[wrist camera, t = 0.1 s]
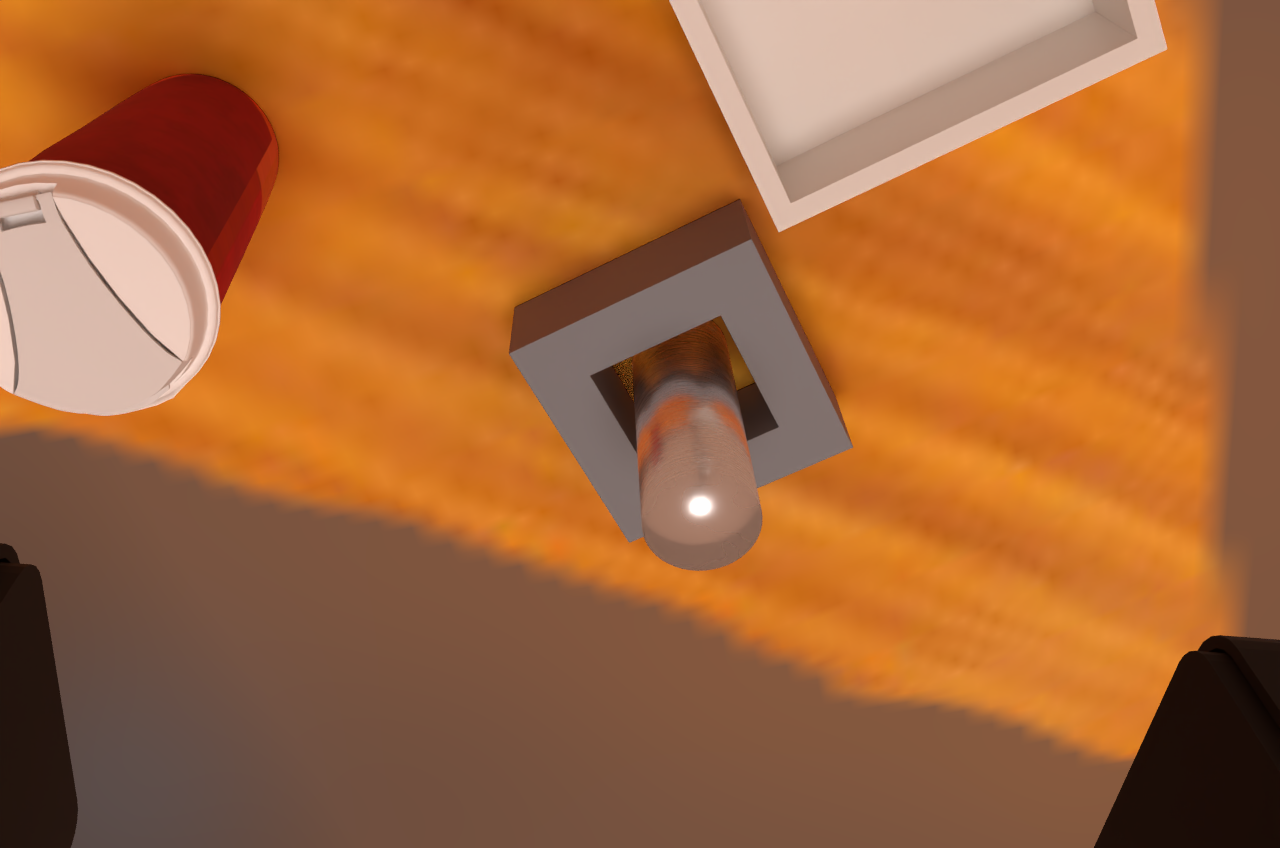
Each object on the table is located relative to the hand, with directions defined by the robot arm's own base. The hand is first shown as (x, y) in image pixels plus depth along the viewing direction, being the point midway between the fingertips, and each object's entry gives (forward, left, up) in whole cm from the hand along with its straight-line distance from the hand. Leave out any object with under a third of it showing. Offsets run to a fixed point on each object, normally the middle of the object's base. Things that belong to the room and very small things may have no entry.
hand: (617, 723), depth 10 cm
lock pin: (+16, -4, -37) cm, 41 cm away
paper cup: (0, -16, -37) cm, 41 cm away
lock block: (+16, -4, -37) cm, 41 cm away
